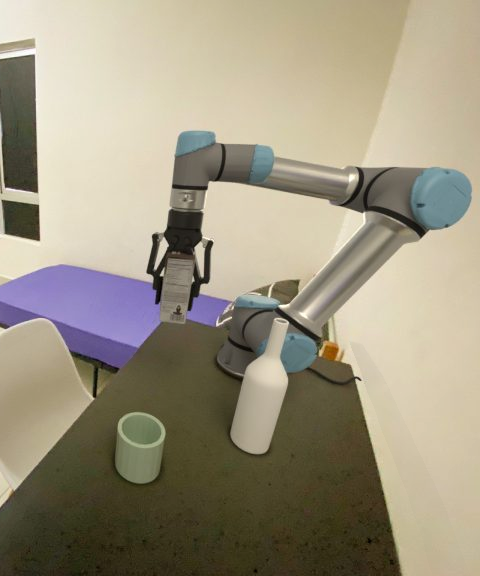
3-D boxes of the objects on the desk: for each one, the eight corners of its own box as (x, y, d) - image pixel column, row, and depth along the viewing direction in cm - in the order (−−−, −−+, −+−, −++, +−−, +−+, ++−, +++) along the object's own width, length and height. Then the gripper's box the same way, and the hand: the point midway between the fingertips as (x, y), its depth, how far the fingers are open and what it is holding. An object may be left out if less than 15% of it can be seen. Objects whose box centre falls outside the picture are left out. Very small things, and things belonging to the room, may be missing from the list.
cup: (164, 454, 70) (169, 420, 67) (153, 491, 62) (159, 454, 59) (123, 439, 73) (126, 406, 70) (108, 472, 65) (110, 437, 62)
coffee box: (159, 306, 86) (166, 245, 80) (184, 309, 85) (193, 248, 79) (158, 321, 78) (166, 255, 72) (186, 325, 77) (196, 258, 71)
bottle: (261, 461, 70) (299, 335, 59) (223, 439, 75) (252, 319, 64) (273, 440, 75) (310, 321, 64) (238, 421, 80) (266, 308, 69)
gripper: (137, 207, 73) (129, 303, 81) (234, 216, 65) (215, 320, 74) (146, 203, 79) (138, 293, 87) (236, 211, 72) (218, 308, 80)
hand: (173, 305), depth 80 cm, fingers closed on coffee box, 7 cm apart
